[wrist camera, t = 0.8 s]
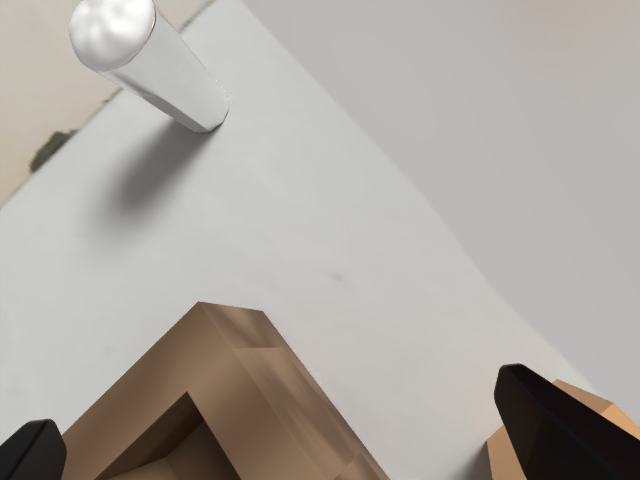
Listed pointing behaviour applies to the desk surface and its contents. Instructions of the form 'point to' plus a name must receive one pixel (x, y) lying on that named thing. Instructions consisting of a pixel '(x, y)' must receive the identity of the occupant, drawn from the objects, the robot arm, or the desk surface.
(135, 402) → the socket
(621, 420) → the peg
